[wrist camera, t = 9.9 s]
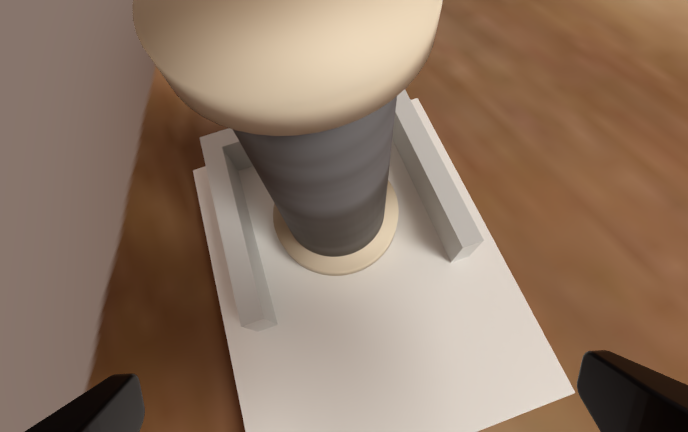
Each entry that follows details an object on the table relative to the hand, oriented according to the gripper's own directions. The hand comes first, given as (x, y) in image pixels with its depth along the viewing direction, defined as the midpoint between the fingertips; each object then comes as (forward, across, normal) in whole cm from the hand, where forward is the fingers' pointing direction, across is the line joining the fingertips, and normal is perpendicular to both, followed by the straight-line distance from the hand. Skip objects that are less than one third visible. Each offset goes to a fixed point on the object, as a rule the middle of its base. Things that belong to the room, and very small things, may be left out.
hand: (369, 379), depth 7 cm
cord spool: (+13, 0, 0) cm, 13 cm away
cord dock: (+12, -1, +3) cm, 12 cm away
